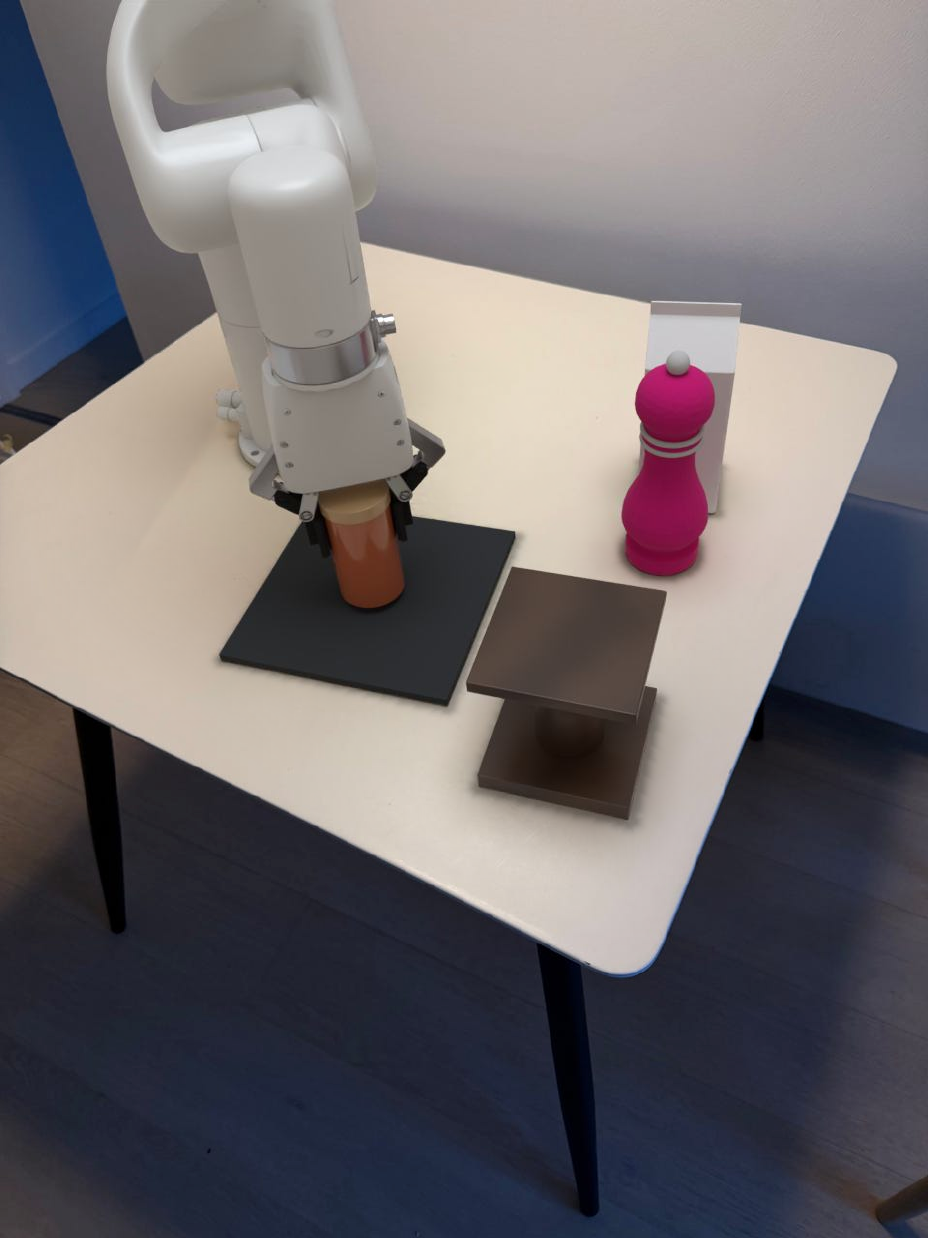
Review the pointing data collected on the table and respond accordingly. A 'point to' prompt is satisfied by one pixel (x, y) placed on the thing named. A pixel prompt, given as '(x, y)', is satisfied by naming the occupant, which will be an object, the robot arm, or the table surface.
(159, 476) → the table surface
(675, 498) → the pepper mill
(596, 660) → the stand
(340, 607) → the mat
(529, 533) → the table surface
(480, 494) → the table surface
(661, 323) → the milk carton
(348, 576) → the spice jar
